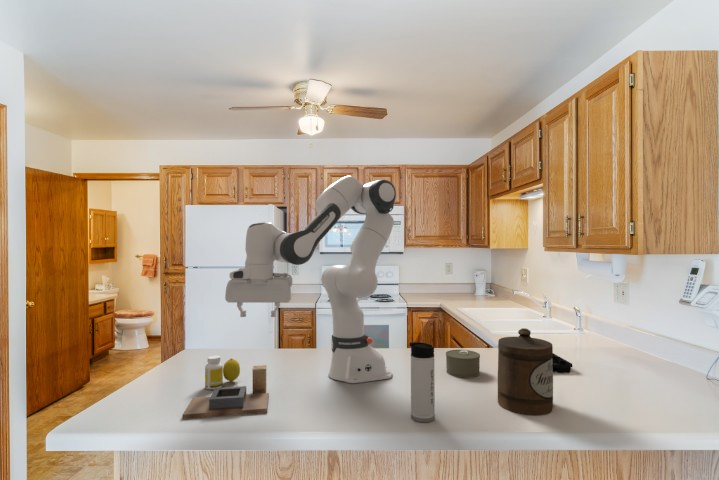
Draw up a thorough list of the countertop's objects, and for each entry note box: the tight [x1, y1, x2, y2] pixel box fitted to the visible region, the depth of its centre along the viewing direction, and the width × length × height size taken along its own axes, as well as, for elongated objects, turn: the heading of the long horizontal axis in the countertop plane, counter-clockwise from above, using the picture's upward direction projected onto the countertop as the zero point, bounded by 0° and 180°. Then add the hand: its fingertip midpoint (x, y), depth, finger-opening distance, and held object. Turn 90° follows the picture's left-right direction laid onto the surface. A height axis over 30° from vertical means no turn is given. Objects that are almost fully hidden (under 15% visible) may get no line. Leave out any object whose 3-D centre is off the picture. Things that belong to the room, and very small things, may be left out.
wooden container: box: [497, 327, 554, 416], centre depth 118 cm, size 15×15×22 cm
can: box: [445, 349, 481, 379], centre depth 147 cm, size 12×12×7 cm
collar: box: [209, 385, 247, 410], centre depth 117 cm, size 9×9×3 cm
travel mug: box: [408, 341, 436, 423], centre depth 109 cm, size 6×7×20 cm
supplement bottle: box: [204, 355, 224, 391], centre depth 133 cm, size 5×5×10 cm
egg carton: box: [552, 352, 574, 374], centre depth 160 cm, size 18×30×4 cm, turn 12°
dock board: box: [182, 392, 270, 420], centre depth 117 cm, size 22×12×1 cm, turn 100°
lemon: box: [223, 358, 241, 383], centre depth 138 cm, size 6×6×8 cm
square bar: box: [252, 364, 267, 394], centre depth 128 cm, size 4×4×8 cm
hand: (258, 316), depth 129 cm, fingers open, 8 cm apart
